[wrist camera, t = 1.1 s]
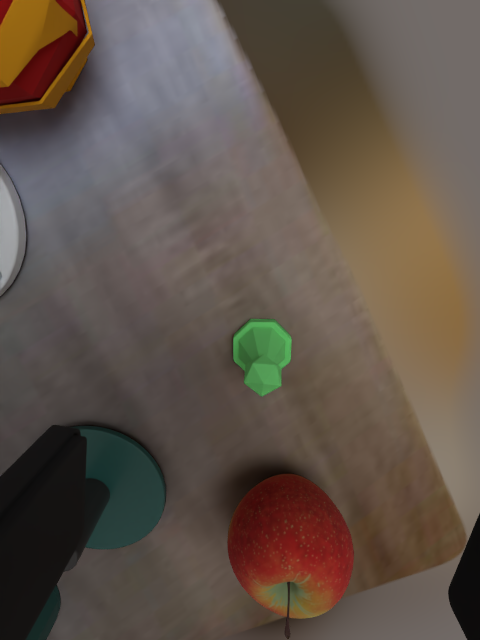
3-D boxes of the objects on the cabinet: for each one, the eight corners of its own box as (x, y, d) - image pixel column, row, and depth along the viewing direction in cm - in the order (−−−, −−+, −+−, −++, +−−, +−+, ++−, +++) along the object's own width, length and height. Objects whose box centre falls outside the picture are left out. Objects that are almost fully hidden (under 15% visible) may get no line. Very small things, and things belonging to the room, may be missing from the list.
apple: (356, 494, 29) (407, 633, 19) (281, 548, 31) (293, 700, 21) (287, 429, 27) (306, 544, 18) (213, 489, 29) (193, 623, 20)
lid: (29, 410, 28) (-38, 467, 21) (175, 434, 28) (152, 497, 22) (29, 526, 31) (-29, 606, 25) (160, 547, 31) (136, 632, 25)
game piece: (300, 361, 26) (314, 403, 20) (245, 381, 26) (242, 427, 21) (279, 307, 25) (287, 335, 19) (222, 329, 25) (212, 362, 20)
